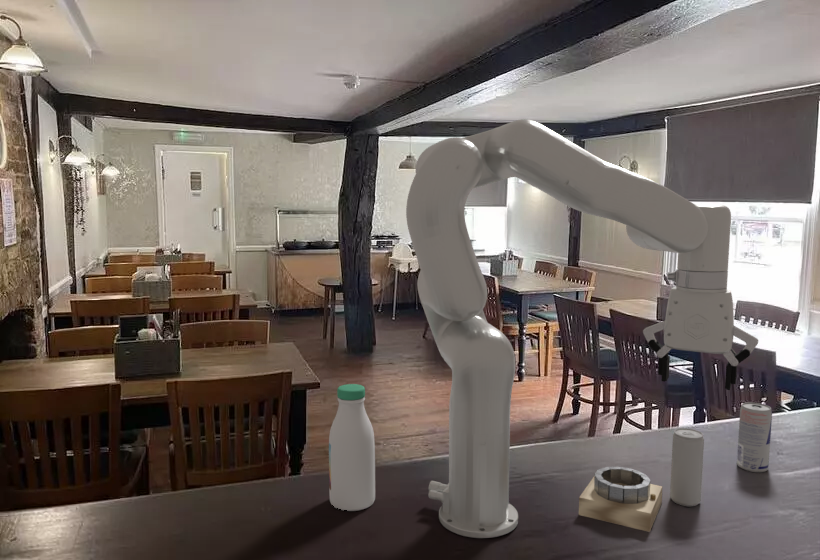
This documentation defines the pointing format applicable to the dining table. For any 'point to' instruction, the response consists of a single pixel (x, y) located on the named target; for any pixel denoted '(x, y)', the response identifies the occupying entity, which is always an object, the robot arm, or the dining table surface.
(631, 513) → the mount block
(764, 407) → the energy drink
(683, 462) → the beverage can
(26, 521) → the dining table surface
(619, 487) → the mount ring
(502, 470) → the robot arm
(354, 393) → the milk bottle
